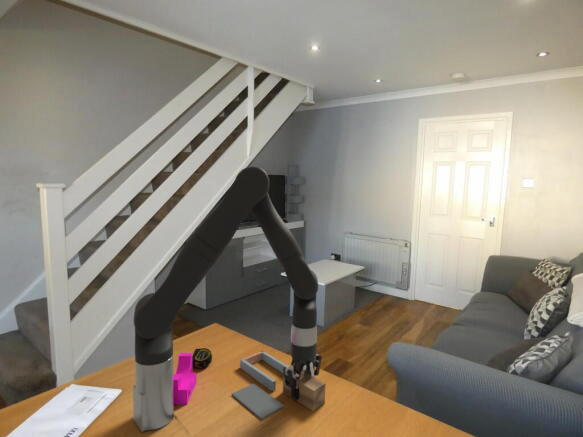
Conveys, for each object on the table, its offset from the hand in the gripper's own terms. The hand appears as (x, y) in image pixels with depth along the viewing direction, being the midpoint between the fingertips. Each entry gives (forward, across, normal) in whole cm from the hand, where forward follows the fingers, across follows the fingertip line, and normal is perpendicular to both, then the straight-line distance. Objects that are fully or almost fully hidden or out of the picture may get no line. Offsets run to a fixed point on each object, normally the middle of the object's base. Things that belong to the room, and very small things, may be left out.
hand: (302, 394), depth 100 cm
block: (+1, 0, 0) cm, 1 cm away
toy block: (+1, +24, -26) cm, 36 cm away
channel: (+1, 0, -16) cm, 16 cm away
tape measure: (0, +14, -38) cm, 41 cm away
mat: (+1, +11, -7) cm, 13 cm away
